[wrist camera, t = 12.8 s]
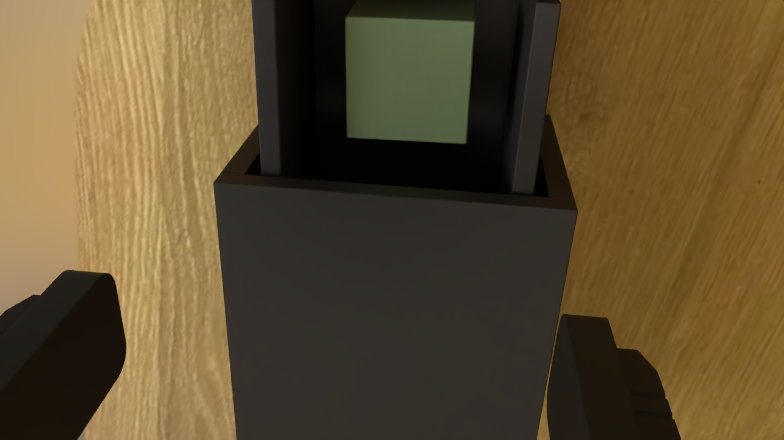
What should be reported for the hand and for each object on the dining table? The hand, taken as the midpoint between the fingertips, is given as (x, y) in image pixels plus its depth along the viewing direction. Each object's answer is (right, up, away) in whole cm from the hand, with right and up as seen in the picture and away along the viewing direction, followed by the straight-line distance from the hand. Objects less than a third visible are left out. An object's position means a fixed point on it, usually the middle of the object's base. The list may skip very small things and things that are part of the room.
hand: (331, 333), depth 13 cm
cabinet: (+2, +1, +24) cm, 24 cm away
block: (+2, +9, +17) cm, 20 cm away
